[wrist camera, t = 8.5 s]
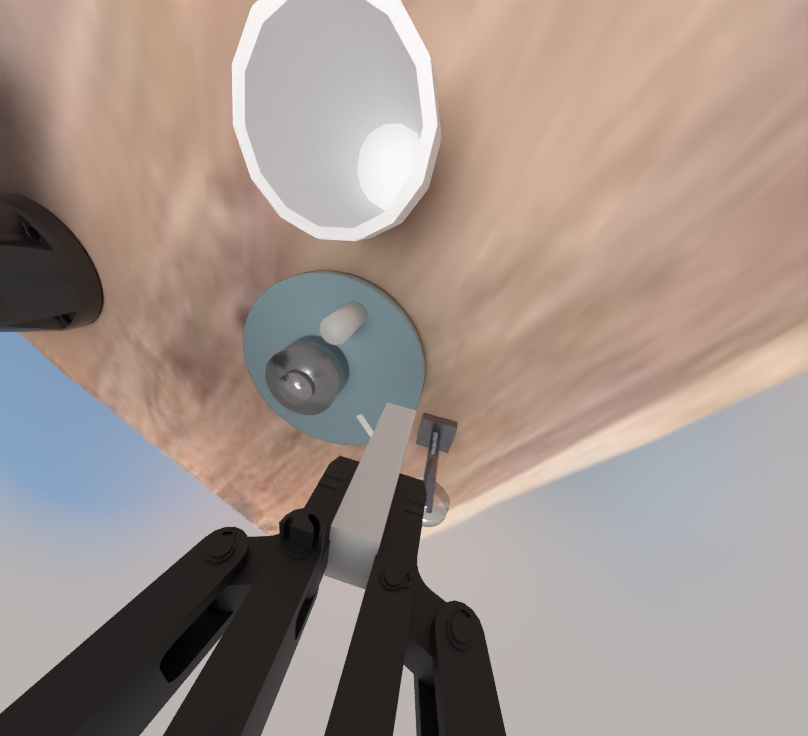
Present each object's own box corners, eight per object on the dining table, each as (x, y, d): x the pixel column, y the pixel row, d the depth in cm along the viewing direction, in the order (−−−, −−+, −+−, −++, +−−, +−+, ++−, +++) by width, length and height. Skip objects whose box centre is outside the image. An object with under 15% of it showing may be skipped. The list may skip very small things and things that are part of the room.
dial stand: (415, 438, 36) (395, 523, 26) (422, 413, 34) (404, 493, 24) (449, 447, 36) (443, 537, 26) (458, 423, 34) (455, 509, 24)
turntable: (258, 409, 38) (219, 445, 32) (249, 249, 29) (190, 257, 23) (405, 452, 37) (392, 498, 30) (446, 298, 27) (441, 320, 21)
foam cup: (327, 115, 23) (195, 14, 12) (442, 78, 21) (414, -93, 10) (356, 242, 27) (278, 257, 16) (456, 222, 25) (448, 222, 14)
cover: (287, 385, 33) (260, 410, 28) (287, 327, 30) (256, 346, 25) (346, 401, 32) (327, 429, 28) (352, 345, 29) (332, 367, 25)
